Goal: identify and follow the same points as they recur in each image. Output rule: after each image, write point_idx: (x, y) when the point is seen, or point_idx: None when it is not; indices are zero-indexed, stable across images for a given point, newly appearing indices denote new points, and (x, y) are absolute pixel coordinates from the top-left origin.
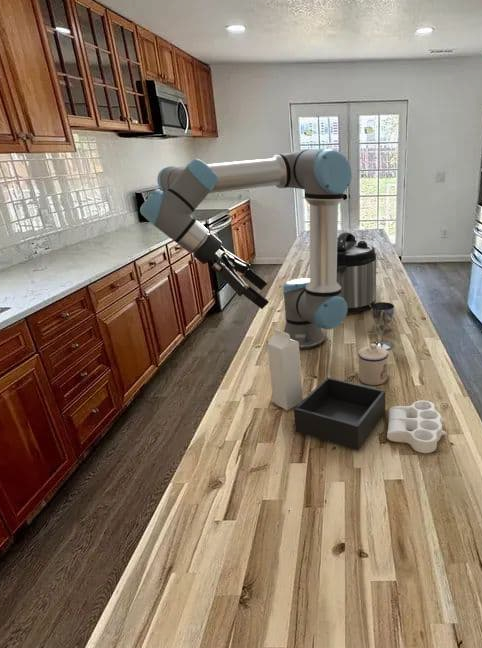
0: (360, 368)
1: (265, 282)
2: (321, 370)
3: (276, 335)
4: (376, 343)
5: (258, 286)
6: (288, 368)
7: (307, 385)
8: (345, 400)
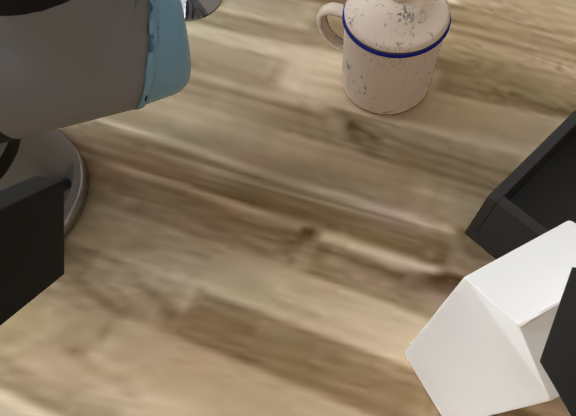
0: (397, 85)
1: (49, 187)
2: (270, 201)
3: (540, 323)
4: None
5: (35, 281)
6: None
7: (357, 273)
8: (520, 188)
